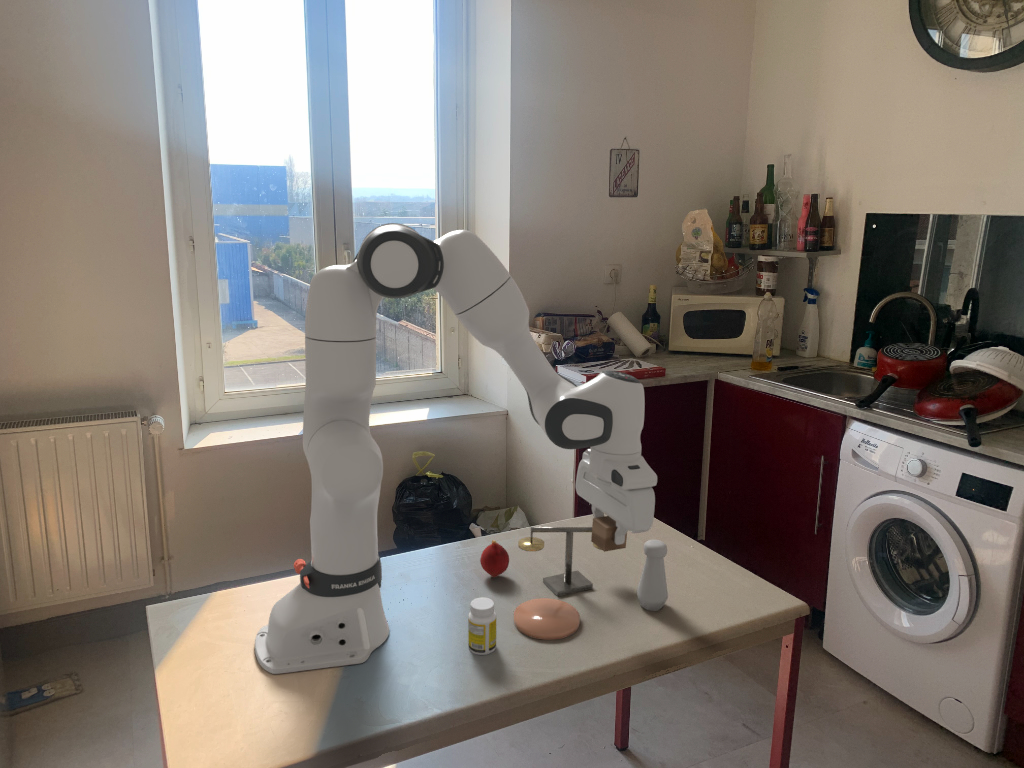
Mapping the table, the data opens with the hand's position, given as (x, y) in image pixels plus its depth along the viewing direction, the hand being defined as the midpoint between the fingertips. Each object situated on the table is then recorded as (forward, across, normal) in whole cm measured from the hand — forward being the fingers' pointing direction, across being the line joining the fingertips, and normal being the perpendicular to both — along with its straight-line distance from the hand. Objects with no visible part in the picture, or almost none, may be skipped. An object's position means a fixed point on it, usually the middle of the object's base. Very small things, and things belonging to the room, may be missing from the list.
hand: (608, 536), depth 132 cm
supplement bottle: (+17, 0, -24) cm, 30 cm away
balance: (+16, -13, 0) cm, 21 cm away
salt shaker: (+16, 0, +11) cm, 19 cm away
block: (+2, 0, 0) cm, 2 cm away
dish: (+16, -3, -10) cm, 19 cm away
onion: (+17, -22, -12) cm, 30 cm away
